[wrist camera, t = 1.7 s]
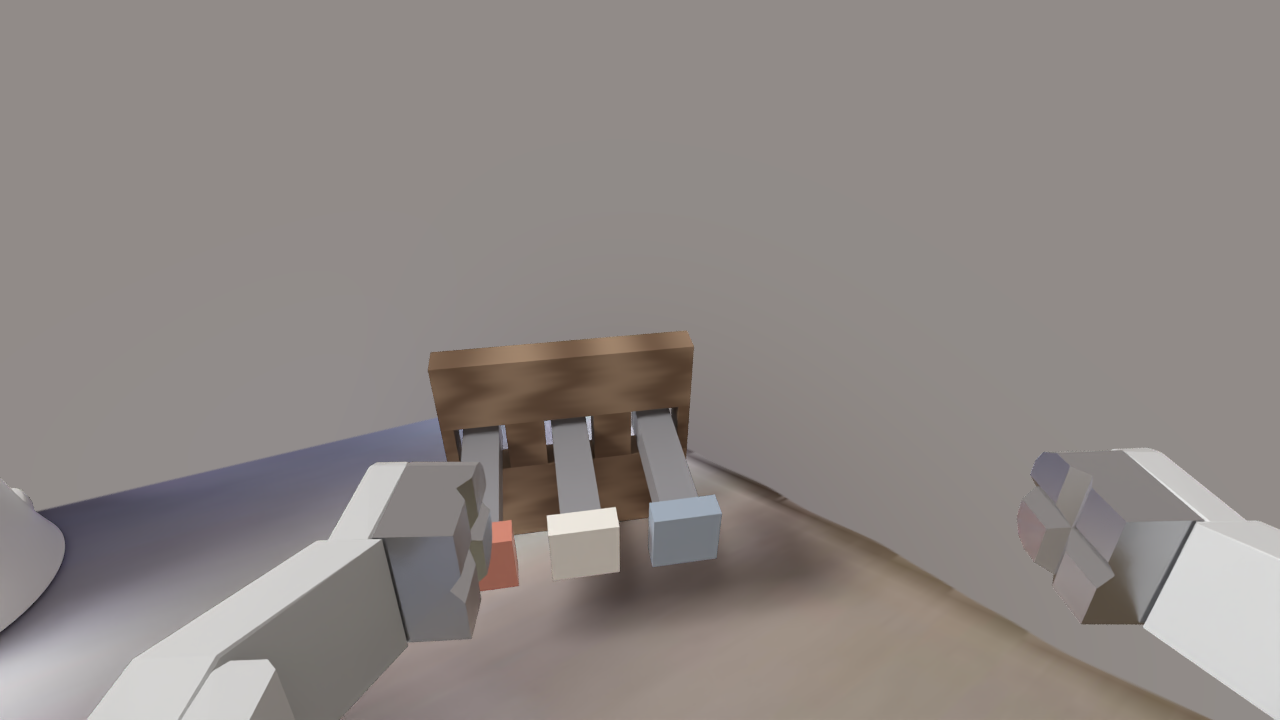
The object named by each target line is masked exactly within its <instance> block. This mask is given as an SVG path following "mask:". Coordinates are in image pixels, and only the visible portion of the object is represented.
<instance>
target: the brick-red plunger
mask: <svg viewBox="0 0 1280 720" xmlns="http://www.w3.org/2000/svg"><path fill="white" fill-rule="evenodd" d="M461 462H480V463H481V464H482V466H483V467H484V473H485V478H486V484H487V486H486V490H485V493H484V497H483V501H482V502H483V503H484V504H485V505H486V506H487V507H488V508H489V509H490V512H491V520H492V549H491V559H490V564H489V568H488V573H487V575H486V576H485V577H484V578H483V579H482V580H481V581H479V588H480V591H486V590H493V589H500V588H508V587H515V586H519V578H518V561H517V554H516V547H515V541H514V534H513V527H512V520H508V521H503V443H502V430H501V425H498V426H488V427H478V428H469V429H463V440H462V455H461Z"/></svg>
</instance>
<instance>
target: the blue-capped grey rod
mask: <svg viewBox="0 0 1280 720" xmlns="http://www.w3.org/2000/svg"><path fill="white" fill-rule="evenodd" d="M632 426H633V430H634V434H635V438H636V442H637V446H638V449H639V453H640V457H641V461H642V465H643V469H644V473H645V477H646V481H647V485H648V489H649V492H650V496H651V500H652V503H649V530H648V550H649V554H650V558H651V563H652V567H658V566H665V565H672V564H679V563H687V562H694V561H701V560H708V559H715V558H717V550H718V542H719V534H720V525H721V517H722V512H721V510H720V507H719V504H718V501H717V499H716V496H715V495H708V496H700V497H698V495H697V492H696V489H695V486H694V483H693V480H692V477H691V474H690V471H689V468H688V465H687V462H686V459H685V456H684V453H683V450H682V447H681V444H680V441H679V438H678V435H677V432H676V429H675V426H674V423H673V420H672V417H671V414H670V411H669V408H663V409H653V410H643V411H634V412H632Z"/></svg>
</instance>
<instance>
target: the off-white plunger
mask: <svg viewBox="0 0 1280 720" xmlns="http://www.w3.org/2000/svg"><path fill="white" fill-rule="evenodd" d="M551 428H552V438H553V448H554V458H555V468H556V478H557V488H558V498H559V508H560V514H556V515H548V516H547V525H548V537H549V547H550V557H551V567H552V577H553V581H558V580H565V579H572V578H579V577H586V576H593V575H601V574H608V573H615V572H620V532H619V522H618V517H617V512H616V507H612V508H604V509H601V507H600V501H599V495H598V489H597V484H596V478H595V472H594V466H593V460H592V454H591V448H590V442H589V436H588V430H587V424H586V418H585V417H575V418H566V419H556V420H551Z"/></svg>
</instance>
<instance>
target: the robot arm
mask: <svg viewBox="0 0 1280 720" xmlns="http://www.w3.org/2000/svg"><path fill="white" fill-rule="evenodd" d="M1030 475H1031V477H1032V479H1033V481H1034V483H1035V485H1036V487H1035V488H1034V489H1033V490H1032V491H1031V492H1030V493H1028V494H1027V495H1026V496H1025V497H1024V498H1023V499H1022V501H1021V504H1020V508H1019V511H1018V515H1017V524H1018V534H1019V537H1020V540H1021V542H1022V545H1023V547H1024V549H1025V551H1026V552H1027V553H1028V555H1029V556H1030V558H1031V559H1032V560H1033V562H1034V563H1036V564H1038V565H1039V566H1041V567H1042V568H1044V569H1046V570H1047V571H1049V572H1051V573H1053V574H1054V575H1053V583H1052V587H1053V588H1054V590H1055V591H1056V592H1057V594H1058V595H1059V596H1060V597H1061V599H1062V600H1063V601H1064V603H1065V604H1066V605H1067V607H1068V608H1069V609H1070V610H1071V612H1072V613H1073V614H1074V616H1075V617H1076V618H1077V620H1078V621H1079V622H1080V624H1144V626H1143V628H1144V629H1146V630H1147V631H1149V632H1150V633H1152V634H1153V635H1154V636H1156V637H1157V638H1159V639H1160V640H1162V641H1163V642H1164V643H1166V644H1167V645H1169V646H1170V647H1172V648H1173V649H1174V650H1176V651H1177V652H1179V653H1180V654H1182V655H1183V656H1184V657H1186V658H1188V659H1189V660H1190V661H1192V662H1193V663H1195V664H1196V665H1197V666H1199V667H1200V668H1202V669H1203V670H1205V671H1206V672H1207V673H1209V674H1210V675H1212V676H1213V677H1215V678H1216V679H1217V680H1219V681H1220V682H1222V683H1223V684H1225V685H1226V686H1228V687H1229V688H1230V689H1232V690H1233V691H1235V692H1236V693H1237V694H1239V695H1240V696H1242V697H1243V698H1245V699H1246V700H1247V701H1249V702H1250V703H1252V704H1253V705H1255V706H1256V707H1257V708H1259V709H1260V710H1262V711H1263V712H1265V713H1266V714H1267V715H1269V716H1270V717H1272V718H1273V719H1275V720H1280V530H1279V529H1277V528H1275V527H1272V526H1270V525H1267V524H1265V523H1262V522H1260V521H1246V520H1245V519H1244V518H1243V517H1241V516H1240V515H1239V514H1238V513H1236V512H1235V511H1234V510H1233V509H1231V508H1230V507H1229V506H1227V505H1226V504H1225V503H1224V502H1223V501H1221V500H1220V499H1219V498H1218V497H1216V496H1215V495H1214V494H1213V493H1211V492H1210V491H1209V490H1208V489H1206V488H1205V487H1204V486H1203V485H1201V484H1200V483H1199V482H1198V481H1196V480H1195V479H1194V478H1193V477H1191V476H1190V475H1189V474H1188V473H1186V472H1185V471H1184V470H1183V469H1181V468H1180V467H1179V466H1178V465H1176V464H1175V463H1174V462H1173V461H1171V460H1170V459H1169V458H1168V457H1166V456H1165V455H1164V454H1163V453H1161V452H1159V451H1156V450H1153V449H1150V448H1129V449H1113V450H1108V451H1070V452H1069V451H1068V452H1043V453H1042V454H1041V455H1040V456H1039V457H1038V458H1037V460H1036V461H1035V463H1034V466H1033V469H1032V471H1031V474H1030ZM486 486H487V484H486V478H485V473H484V467H483V466H482V464H481V463H480V462H411V463H410V462H377V463H375V464H373V465H371V466H370V467H369V468H368V470H367V472H366V473H365V475H364V477H363V479H362V480H361V482H360V484H359V486H358V488H357V489H356V491H355V493H354V495H353V496H352V498H351V500H350V502H349V504H348V505H347V507H346V509H345V511H344V512H343V514H342V516H341V518H340V520H339V521H338V523H337V525H336V527H335V528H334V530H333V532H332V534H331V535H330V537H329V539H328V540H317V541H315V542H314V543H312V544H311V545H309V546H307V547H306V548H304V549H303V550H301V551H300V552H298V553H297V554H295V555H294V556H292V557H290V558H289V559H287V560H286V561H284V562H283V563H281V564H280V565H278V566H276V567H275V568H273V569H272V570H270V571H269V572H267V573H266V574H264V575H263V576H261V577H259V578H258V579H256V580H255V581H253V582H252V583H250V584H249V585H247V586H245V587H244V588H242V589H241V590H239V591H238V592H236V593H235V594H233V595H231V596H230V597H228V598H227V599H225V600H224V601H222V602H221V603H219V604H218V605H216V606H214V607H213V608H211V609H210V610H208V611H207V612H205V613H204V614H202V615H200V616H199V617H197V618H196V619H194V620H193V621H191V622H190V623H188V624H187V625H185V626H183V627H182V628H180V629H179V630H177V631H176V632H174V633H173V634H171V635H169V636H168V637H166V638H165V639H163V640H162V641H160V642H159V643H157V644H156V645H154V646H152V647H151V648H149V649H148V650H146V651H145V652H143V653H142V654H140V655H138V656H137V657H135V658H134V659H132V661H131V662H130V663H129V665H128V666H127V667H126V668H125V670H124V671H123V672H122V674H121V675H120V676H119V678H118V679H117V680H116V682H115V683H114V684H113V685H112V687H111V688H110V689H109V691H108V692H107V693H106V695H105V696H104V697H103V699H102V700H101V701H100V703H99V704H98V705H97V706H96V708H95V709H94V710H93V712H92V713H91V714H90V716H89V717H88V718H87V720H340V719H341V718H342V716H343V715H344V714H345V713H346V712H347V711H348V710H349V709H350V708H351V707H352V706H353V705H354V704H355V702H356V701H357V700H358V699H359V698H360V697H361V696H362V695H363V694H364V693H365V692H366V691H367V690H368V688H369V687H370V686H371V685H372V684H373V683H374V682H375V681H376V680H377V679H378V678H379V677H380V676H381V674H382V673H383V672H384V671H385V670H386V669H387V668H388V667H389V666H390V665H391V664H392V663H393V662H394V660H395V659H396V658H397V657H398V656H399V655H400V654H401V653H402V652H403V651H404V650H405V649H406V648H407V647H408V644H407V642H424V641H443V640H462V639H472V635H473V631H474V627H475V623H476V619H477V615H478V611H479V606H480V602H481V595H480V588H479V581H481V580H482V579H483V578H484V577H485V576H486V575H487V573H488V568H489V564H490V559H491V549H492V520H491V512H490V509H489V508H488V507H487V506H486V505H485V504H484V503H483V502H482V501H483V497H484V493H485V490H486ZM64 552H65V540H64V537H63V534H62V532H61V531H60V529H59V528H58V527H57V526H56V525H55V524H53V523H52V522H50V521H49V520H47V519H46V518H44V517H43V516H41V515H40V514H39V513H37V512H36V511H35V510H34V507H33V503H32V501H31V499H30V498H29V497H28V496H27V495H26V494H25V493H24V492H23V491H22V490H21V489H18V488H10V487H9V486H8V485H7V484H6V483H5V482H4V481H3V480H2V479H1V478H0V632H1V631H2V630H4V629H5V628H6V627H7V626H9V625H10V624H11V623H12V622H14V621H15V620H16V619H17V618H18V617H19V616H20V615H22V614H23V613H24V612H25V611H26V610H27V609H28V608H29V607H30V606H31V605H32V604H33V603H34V602H35V601H36V600H37V599H38V598H39V596H40V595H41V594H42V593H43V592H44V591H45V589H46V588H47V587H48V585H49V584H50V583H51V581H52V580H53V578H54V577H55V575H56V573H57V571H58V569H59V568H60V565H61V563H62V560H63V557H64Z"/></svg>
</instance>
